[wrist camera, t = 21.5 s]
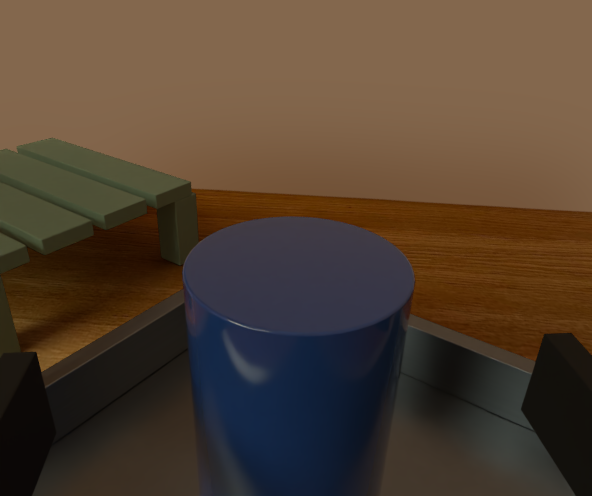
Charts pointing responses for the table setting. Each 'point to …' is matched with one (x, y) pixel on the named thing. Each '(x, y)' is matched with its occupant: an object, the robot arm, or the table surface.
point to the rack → (81, 207)
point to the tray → (181, 435)
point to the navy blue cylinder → (294, 356)
